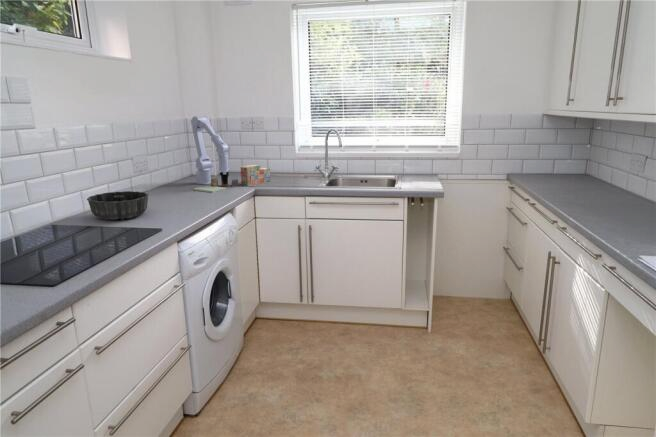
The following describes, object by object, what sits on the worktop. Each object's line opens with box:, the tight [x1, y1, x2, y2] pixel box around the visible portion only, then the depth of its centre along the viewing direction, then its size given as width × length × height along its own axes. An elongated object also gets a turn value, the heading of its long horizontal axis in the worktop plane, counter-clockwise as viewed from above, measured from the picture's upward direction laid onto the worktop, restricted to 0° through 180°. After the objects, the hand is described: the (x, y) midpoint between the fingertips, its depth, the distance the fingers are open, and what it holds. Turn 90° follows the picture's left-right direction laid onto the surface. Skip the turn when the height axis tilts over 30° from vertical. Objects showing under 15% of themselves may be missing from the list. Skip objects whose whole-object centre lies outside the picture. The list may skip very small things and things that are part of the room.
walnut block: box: [220, 176, 229, 188], centre depth 283 cm, size 4×4×6 cm
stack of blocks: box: [240, 164, 271, 187], centre depth 295 cm, size 21×6×12 cm, turn 144°
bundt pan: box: [86, 190, 150, 221], centre depth 207 cm, size 26×26×10 cm
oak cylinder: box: [210, 178, 219, 187], centre depth 282 cm, size 4×4×5 cm
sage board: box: [192, 185, 227, 193], centre depth 272 cm, size 16×12×1 cm
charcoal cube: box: [230, 178, 239, 187], centre depth 285 cm, size 4×4×4 cm
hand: (224, 183), depth 284 cm, fingers closed on walnut block, 4 cm apart
